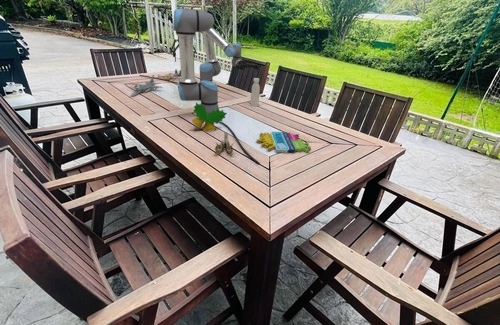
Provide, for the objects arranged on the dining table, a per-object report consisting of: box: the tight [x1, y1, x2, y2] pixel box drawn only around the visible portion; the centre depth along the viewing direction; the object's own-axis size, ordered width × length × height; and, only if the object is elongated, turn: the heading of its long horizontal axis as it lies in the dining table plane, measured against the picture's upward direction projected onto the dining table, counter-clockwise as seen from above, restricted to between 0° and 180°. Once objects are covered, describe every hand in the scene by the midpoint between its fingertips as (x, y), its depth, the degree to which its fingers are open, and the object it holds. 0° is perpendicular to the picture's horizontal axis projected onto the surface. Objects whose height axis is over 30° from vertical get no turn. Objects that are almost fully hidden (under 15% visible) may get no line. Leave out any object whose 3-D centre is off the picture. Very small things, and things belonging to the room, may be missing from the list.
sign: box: [256, 131, 312, 154], centre depth 152 cm, size 26×2×30 cm
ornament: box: [191, 101, 228, 132], centre depth 162 cm, size 21×8×15 cm, turn 105°
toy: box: [156, 69, 181, 81], centre depth 280 cm, size 28×7×30 cm
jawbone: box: [214, 131, 234, 156], centre depth 136 cm, size 9×15×10 cm
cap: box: [253, 77, 260, 83], centre depth 205 cm, size 4×4×2 cm
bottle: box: [250, 81, 261, 107], centre depth 210 cm, size 6×6×21 cm
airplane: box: [128, 74, 161, 97], centre depth 228 cm, size 38×31×10 cm
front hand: (184, 61), depth 211 cm, fingers open, 13 cm apart
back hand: (250, 68), depth 215 cm, fingers open, 13 cm apart
